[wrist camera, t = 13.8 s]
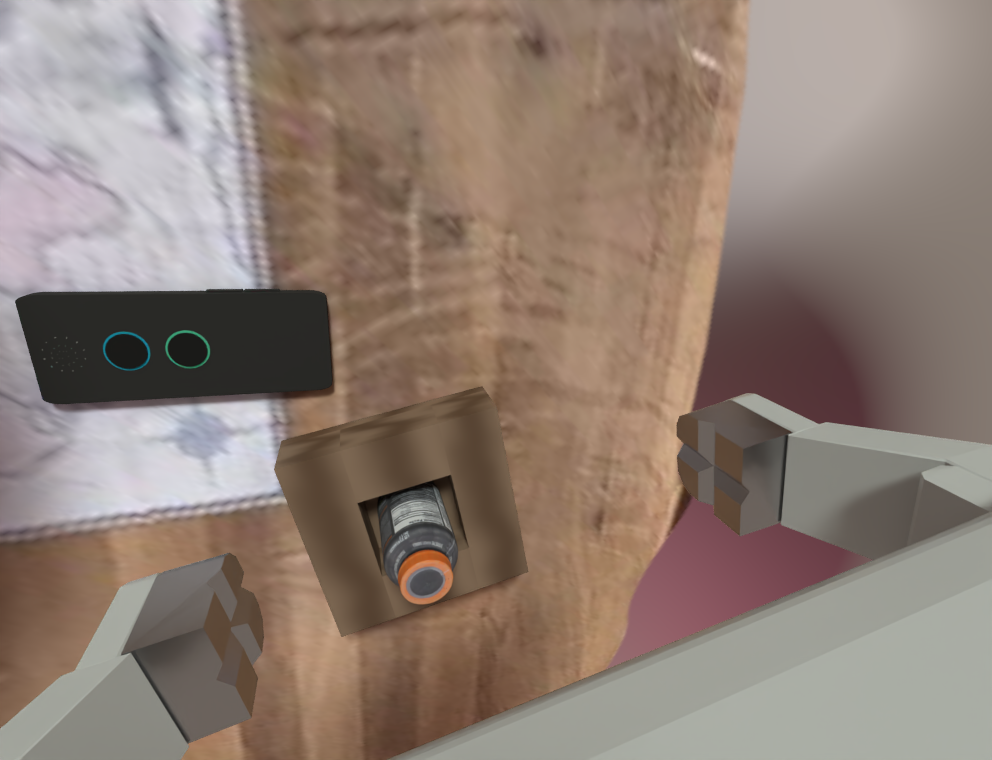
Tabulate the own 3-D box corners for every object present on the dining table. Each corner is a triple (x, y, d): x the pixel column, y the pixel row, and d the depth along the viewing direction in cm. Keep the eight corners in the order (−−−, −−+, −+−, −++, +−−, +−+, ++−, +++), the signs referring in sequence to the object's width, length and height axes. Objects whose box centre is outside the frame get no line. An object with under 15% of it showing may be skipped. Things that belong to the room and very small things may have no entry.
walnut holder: (341, 597, 50) (341, 636, 46) (281, 440, 44) (274, 469, 39) (512, 540, 54) (528, 571, 49) (482, 386, 47) (496, 407, 42)
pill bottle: (416, 536, 49) (435, 627, 39) (363, 512, 47) (369, 602, 37) (453, 489, 49) (481, 568, 38) (401, 461, 46) (417, 539, 36)
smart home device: (10, 293, 34) (325, 291, 39) (25, 288, 36) (326, 287, 41) (43, 407, 37) (332, 391, 42) (55, 398, 38) (333, 384, 44)
